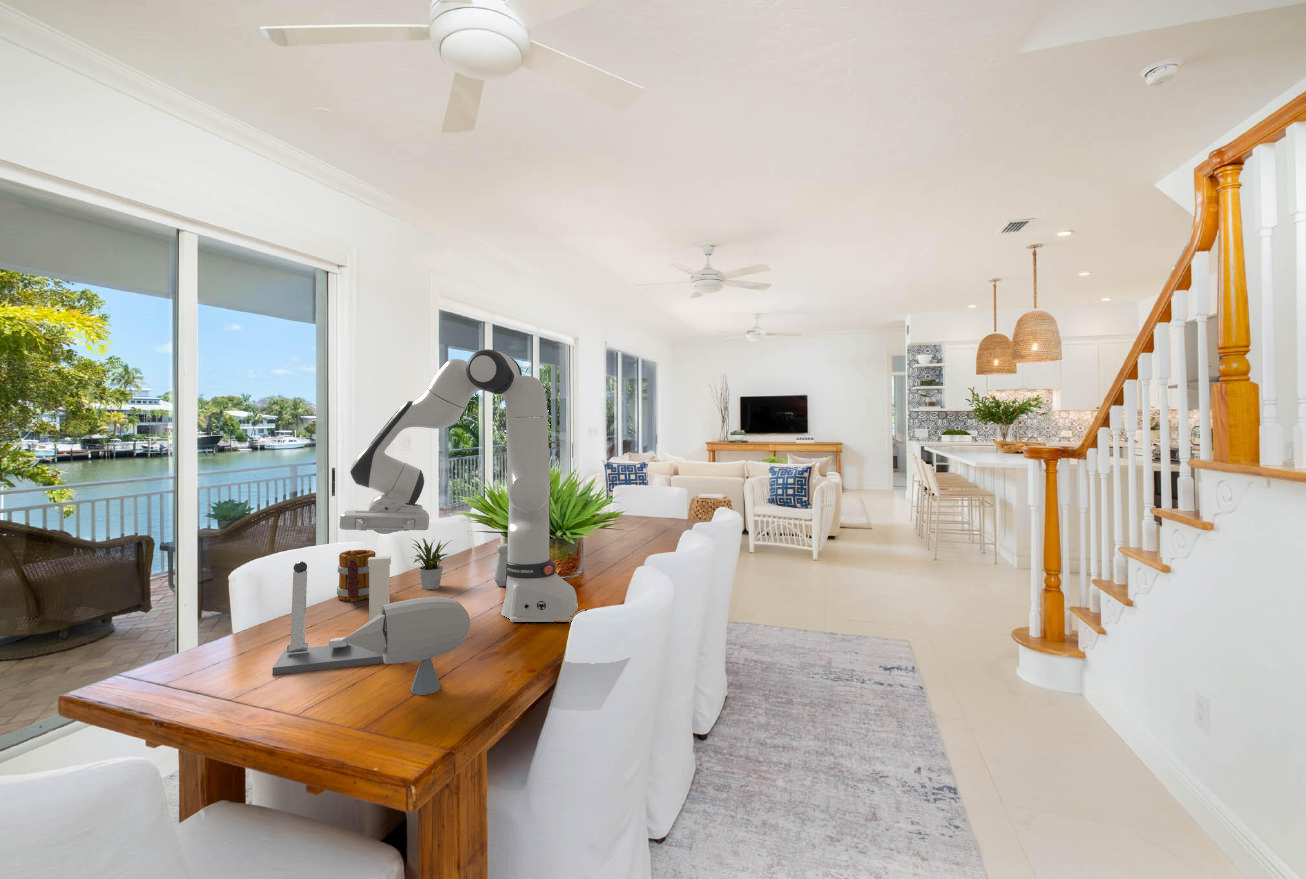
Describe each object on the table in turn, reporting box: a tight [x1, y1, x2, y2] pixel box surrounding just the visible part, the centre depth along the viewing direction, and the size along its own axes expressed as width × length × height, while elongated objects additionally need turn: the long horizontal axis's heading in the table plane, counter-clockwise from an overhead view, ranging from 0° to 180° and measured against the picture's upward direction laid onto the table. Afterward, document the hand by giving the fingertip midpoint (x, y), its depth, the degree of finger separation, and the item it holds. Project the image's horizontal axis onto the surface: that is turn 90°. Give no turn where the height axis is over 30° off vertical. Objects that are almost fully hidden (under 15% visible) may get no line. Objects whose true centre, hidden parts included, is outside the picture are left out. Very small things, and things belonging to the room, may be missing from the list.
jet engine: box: [341, 596, 471, 696], centre depth 114 cm, size 15×20×18 cm
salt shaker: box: [493, 543, 508, 587], centre depth 190 cm, size 6×6×13 cm
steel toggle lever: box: [286, 560, 309, 653], centre depth 129 cm, size 3×4×19 cm
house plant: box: [408, 536, 453, 590], centre depth 186 cm, size 14×14×16 cm
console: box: [272, 643, 385, 676], centre depth 129 cm, size 10×22×2 cm, turn 110°
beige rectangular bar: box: [368, 555, 392, 622], centre depth 133 cm, size 2×4×19 cm, turn 109°
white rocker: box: [328, 636, 350, 648], centre depth 131 cm, size 5×3×1 cm, turn 20°
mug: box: [336, 549, 377, 603], centre depth 174 cm, size 11×16×15 cm, turn 18°
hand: (385, 527), depth 143 cm, fingers open, 8 cm apart
